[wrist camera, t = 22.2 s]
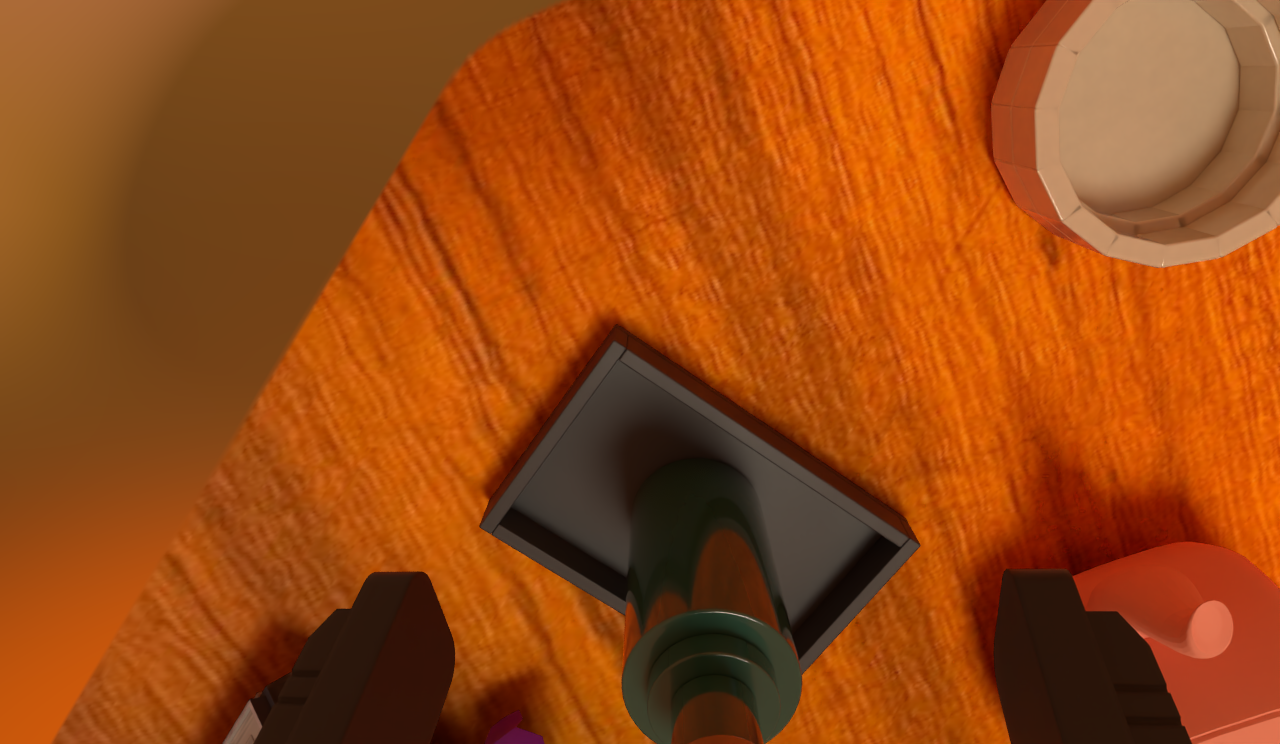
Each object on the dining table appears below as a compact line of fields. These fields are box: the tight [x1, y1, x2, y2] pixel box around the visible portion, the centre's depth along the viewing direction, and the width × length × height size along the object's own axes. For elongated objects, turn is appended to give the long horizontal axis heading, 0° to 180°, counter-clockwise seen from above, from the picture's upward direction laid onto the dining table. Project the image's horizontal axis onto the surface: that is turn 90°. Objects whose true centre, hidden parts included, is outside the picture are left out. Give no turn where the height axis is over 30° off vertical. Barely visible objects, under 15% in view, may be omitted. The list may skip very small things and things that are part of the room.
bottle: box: [622, 458, 802, 744], centre depth 30 cm, size 6×6×16 cm
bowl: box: [991, 0, 1280, 268], centre depth 30 cm, size 10×10×4 cm
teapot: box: [1072, 542, 1280, 744], centre depth 34 cm, size 20×12×12 cm, turn 25°
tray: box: [480, 324, 920, 674], centre depth 37 cm, size 15×10×2 cm, turn 55°
